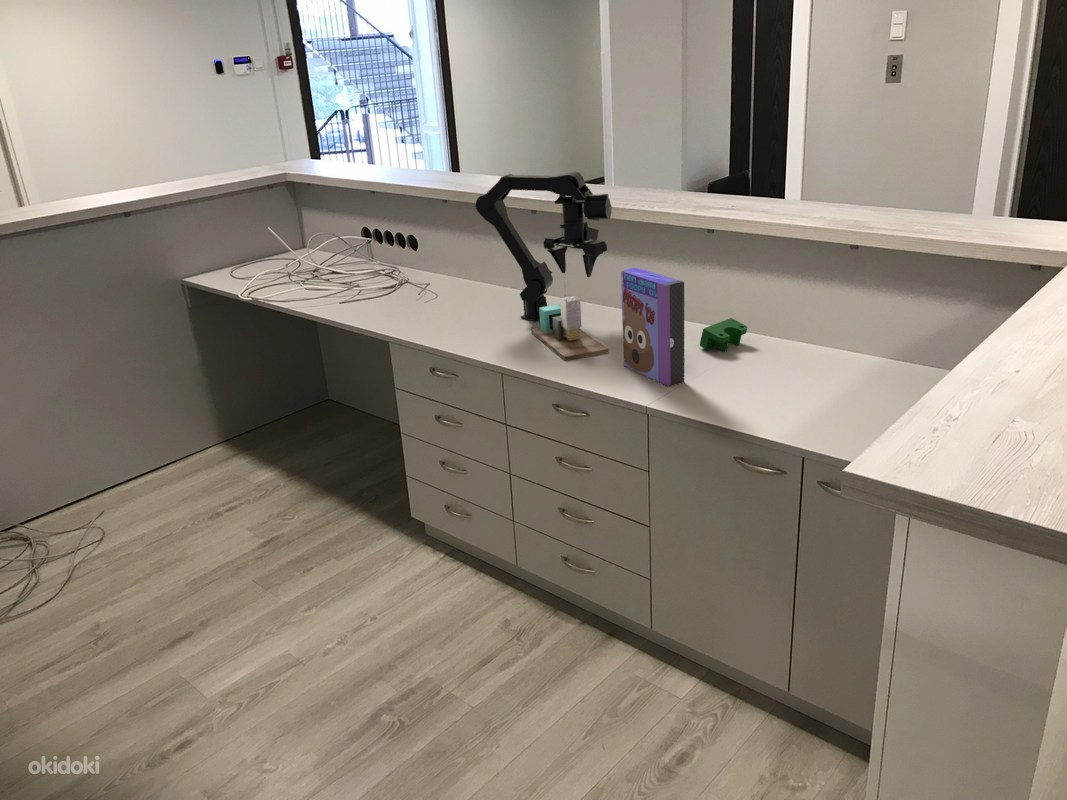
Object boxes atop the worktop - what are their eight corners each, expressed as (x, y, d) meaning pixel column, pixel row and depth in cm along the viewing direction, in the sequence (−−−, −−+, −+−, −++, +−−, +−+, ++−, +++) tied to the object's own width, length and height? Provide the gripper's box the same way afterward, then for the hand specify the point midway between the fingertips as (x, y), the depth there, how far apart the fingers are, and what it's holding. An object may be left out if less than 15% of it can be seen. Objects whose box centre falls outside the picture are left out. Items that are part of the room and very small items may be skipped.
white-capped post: (547, 325, 241) (544, 288, 237) (560, 322, 242) (558, 285, 238) (567, 341, 228) (565, 302, 224) (582, 338, 229) (580, 299, 225)
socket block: (540, 328, 242) (539, 307, 240) (564, 324, 244) (562, 303, 242) (545, 332, 239) (544, 311, 236) (569, 328, 241) (568, 307, 238)
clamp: (719, 368, 221) (717, 343, 214) (701, 357, 224) (698, 332, 218) (750, 340, 225) (749, 315, 218) (732, 330, 228) (730, 305, 222)
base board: (531, 332, 243) (531, 329, 242) (571, 325, 246) (571, 322, 246) (565, 360, 220) (564, 356, 220) (608, 352, 224) (608, 348, 224)
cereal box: (623, 366, 214) (621, 270, 205) (639, 361, 216) (637, 266, 207) (667, 387, 200) (666, 284, 191) (684, 382, 202) (684, 280, 193)
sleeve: (553, 336, 236) (552, 317, 233) (572, 333, 237) (571, 314, 235) (559, 340, 232) (557, 321, 230) (577, 337, 234) (576, 317, 231)
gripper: (618, 216, 240) (620, 272, 246) (566, 211, 252) (569, 264, 258) (592, 224, 233) (595, 281, 239) (540, 218, 245) (544, 273, 251)
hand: (576, 274), depth 247 cm, fingers open, 9 cm apart
